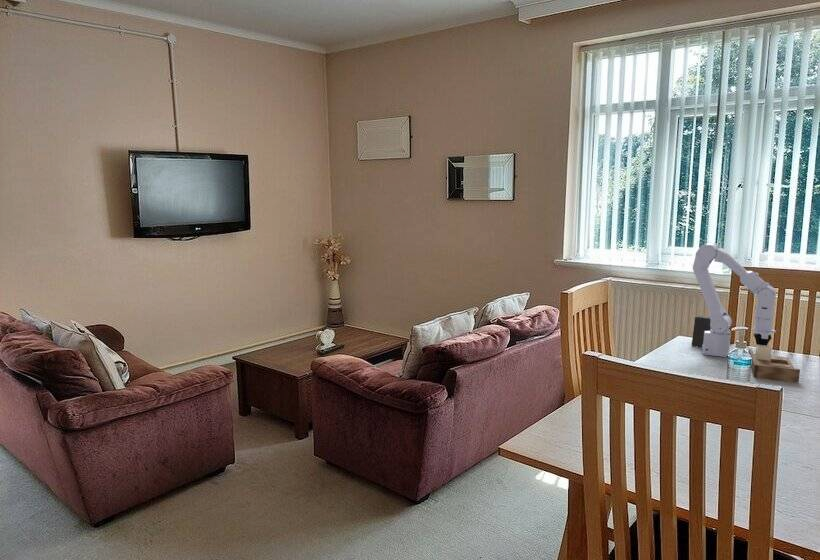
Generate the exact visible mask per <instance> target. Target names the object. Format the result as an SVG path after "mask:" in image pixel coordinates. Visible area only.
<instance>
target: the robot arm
mask: <svg viewBox="0 0 820 560" xmlns="http://www.w3.org/2000/svg"><path fill="white" fill-rule="evenodd" d="M713 261H714V262H716V263H722V264H723V265H725V266H726V267H727V268H728V269H729V270H731V271H732V272H734V274H736V276H738V277H739V281H740V283H741V284H742V285H744V286H745V288H746V289H748V290H749V291H750V292H751V293H752V294H754V295H756V299H757V304H756V308H755V316H754V317H755V318H754V326H753V332H754V333H753V337H754V339H755V345H756V344H757V345H767V346H768V345H769V342H770V341H771V340H772V335H771V334H772V333H773V334H775V333H776V332H777V331H776V329H773V323H774V315H775V299H776V297H777V290H776V289H775V288H774V286H772V285H770V283H769V282H768V281H767V282H766V281H765V280H764V279H762V278H761V277H760V276H759V275H760V273H758V272H755V271H752V270H746V268H745V267H743V265H742V264H740V263H739V261H737V260H736V259H735V258H734V257H733V256H732V255H731V254H730V253H729V252H728V251H726V250H725V249H724V248H723V247H720V245H718V244H717V243H715V242H707V243H706V244H703V245H701V246H700V247H699V248H698V249H697V251H696V252H695V257H694V262H693V265H692V271H693V273H694V276H695V278H696V281H697V283H698V285H699V289H700V291H701V293H702V296H703V299H704V301H705V304H706V307H707V309H708V314H709V315H708V317H710V320H711V323H710V327H711V329H710V331H704V341H703V344H702V347H701V349H702V354H703V355H704V356H705V355H706V356H715V357H723V358H728V357H727V356H728V354H729V353H730V345H731V336H732V335H731V333H732V331H731V330H730V328H731V326H732V324H733V319H732V318H731V316H730V315H729V314H728V313H727V311H726V309H725V308H724V306H723V305H722V301H721V300H720V297H719V294H718V292H717V289H716V287H715V284H714V281H713V279H712V277H711V274H710V272H709V267H710V265H711V264H712V262H713ZM730 354H731V353H730Z"/></svg>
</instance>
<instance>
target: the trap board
mask: <svg viewBox="0 0 820 560" xmlns="http://www.w3.org/2000/svg"><path fill="white" fill-rule="evenodd" d="M747 353H749V354H750V355H751V357H752V364H751V367H750V368H751V369H750V370H751V372H752V376H753V378H757V379H765V380H772V381H773V380H775V381H781V382H788V381H790V382H789V383H796V382H799V381H800V372H801V369H799V368H795V367H794V365H793V363H792V362H791V360H790V357H788V356H779V355H778V356H777V355H771V361H769V360H760V359H756V356H755V355H756V353H754V351H753V348H751V347H748V352H747ZM799 383H800V382H799Z"/></svg>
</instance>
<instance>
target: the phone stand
mask: <svg viewBox="0 0 820 560" xmlns="http://www.w3.org/2000/svg"><path fill="white" fill-rule="evenodd" d="M710 323H711V320H710V317H709V316H700V315H695V316H694V325H693V331H692V339H691V345H694V346H693V347H695V346H698V347H697V348H702V344H703V341H704V331H710V329H711V327H710Z"/></svg>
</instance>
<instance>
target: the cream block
mask: <svg viewBox="0 0 820 560" xmlns="http://www.w3.org/2000/svg"><path fill="white" fill-rule="evenodd" d="M755 346H756V347H755V354H756V355H755V356H756V359H760V360H769V361H771V356H772V352H773V351H772V350H773V349H772V346H771V345H768V344H767V345H757V344H756V343H755Z"/></svg>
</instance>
